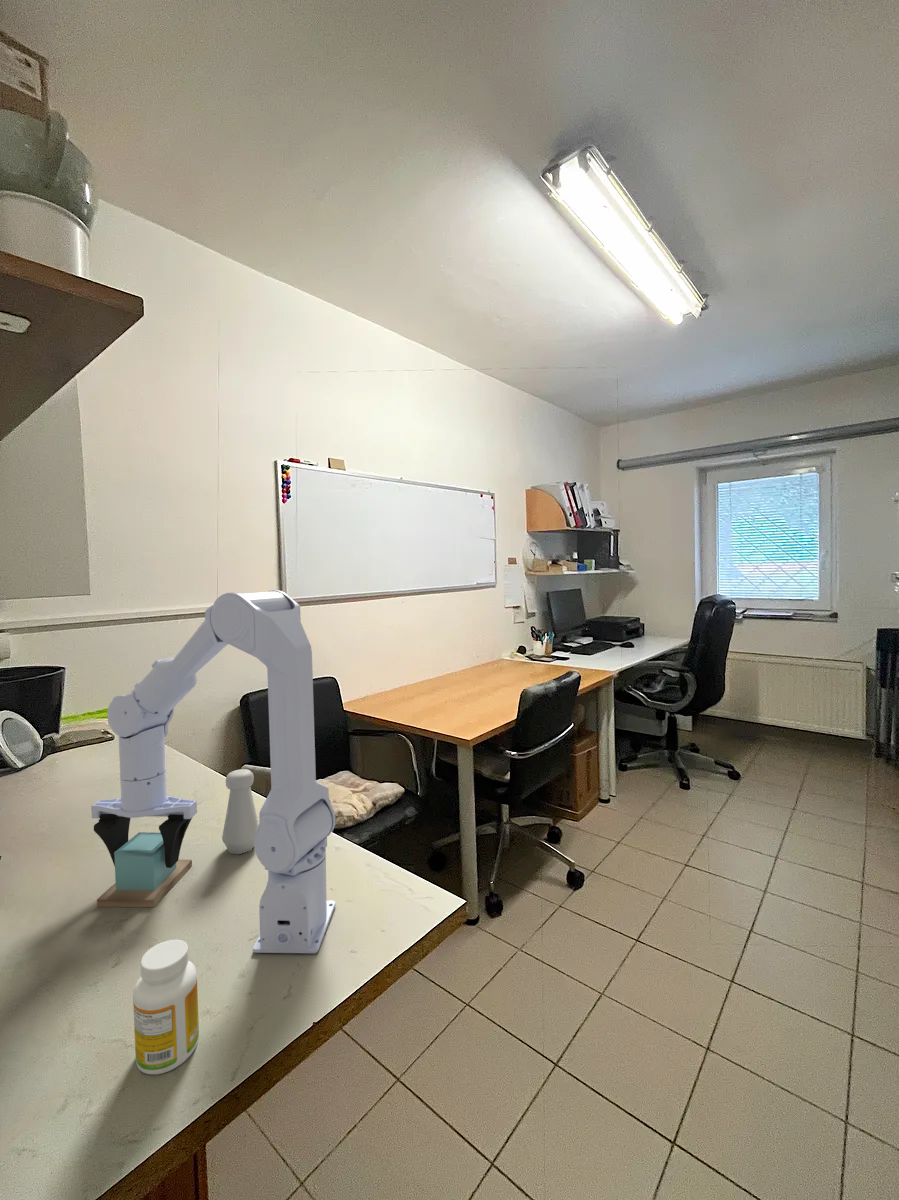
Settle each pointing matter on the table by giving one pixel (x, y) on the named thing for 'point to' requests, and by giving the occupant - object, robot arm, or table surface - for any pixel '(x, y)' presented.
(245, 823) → the salt shaker
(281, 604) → the robot arm
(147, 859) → the teal lidded box
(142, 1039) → the supplement bottle
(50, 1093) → the table surface
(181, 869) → the post base
